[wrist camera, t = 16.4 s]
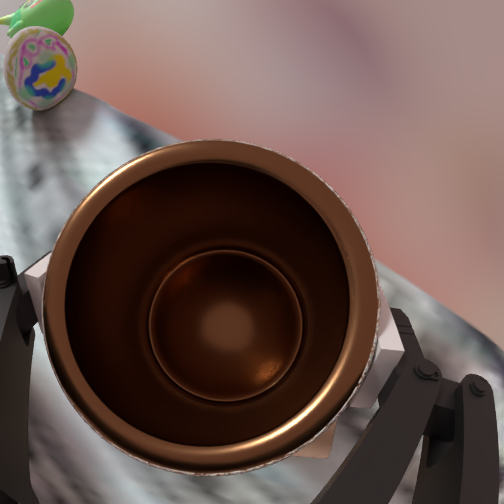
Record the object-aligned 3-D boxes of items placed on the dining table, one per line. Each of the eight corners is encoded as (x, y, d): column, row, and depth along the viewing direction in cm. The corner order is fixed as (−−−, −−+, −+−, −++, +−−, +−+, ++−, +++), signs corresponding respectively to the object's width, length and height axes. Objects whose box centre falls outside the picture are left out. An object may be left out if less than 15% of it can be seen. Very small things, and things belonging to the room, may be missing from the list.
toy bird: (92, 26, 48) (73, -23, 34) (30, 72, 44) (2, 24, 30) (64, 19, 52) (47, -21, 38) (12, 58, 48) (-10, 20, 34)
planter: (351, 290, 18) (430, 227, 9) (260, 450, 15) (264, 535, 6) (198, 208, 20) (160, 100, 11) (105, 351, 17) (-4, 336, 8)
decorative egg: (38, 130, 37) (-9, 67, 23) (20, 105, 40) (-17, 52, 26) (96, 81, 40) (64, 11, 26) (70, 63, 43) (42, 6, 29)
